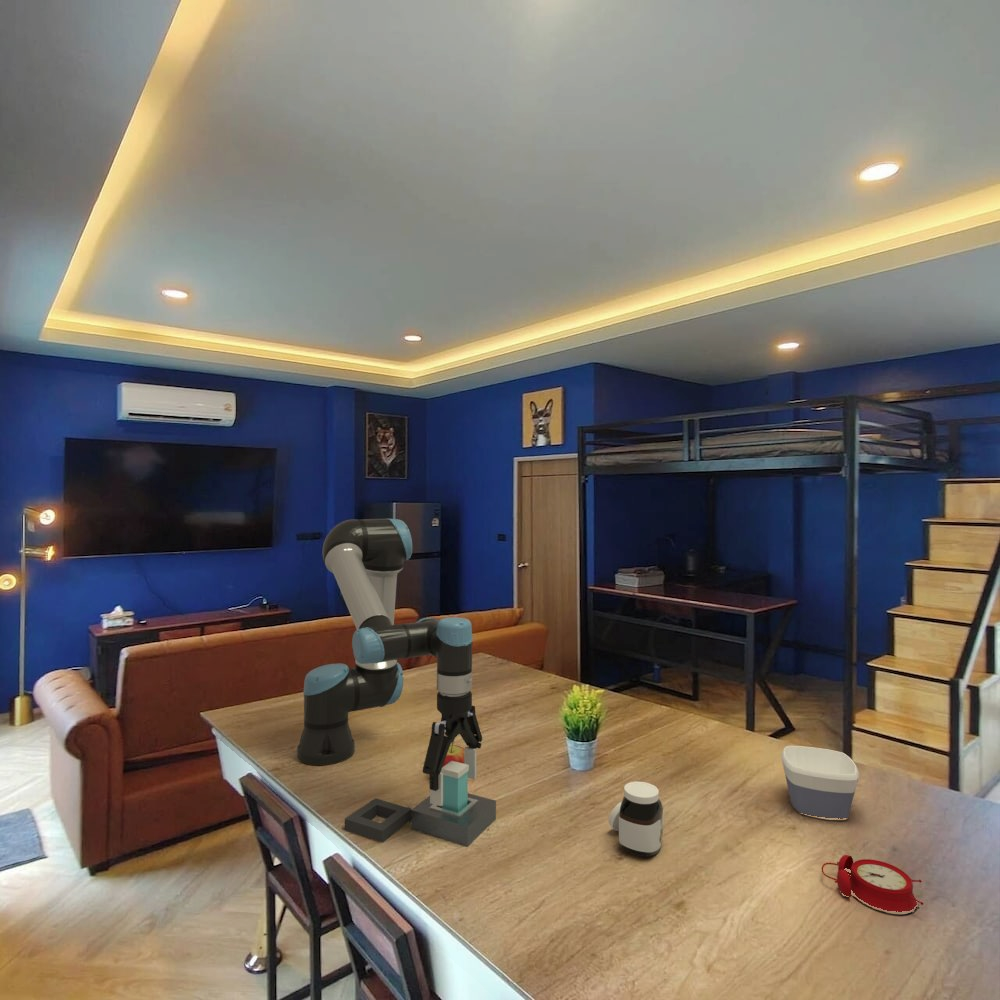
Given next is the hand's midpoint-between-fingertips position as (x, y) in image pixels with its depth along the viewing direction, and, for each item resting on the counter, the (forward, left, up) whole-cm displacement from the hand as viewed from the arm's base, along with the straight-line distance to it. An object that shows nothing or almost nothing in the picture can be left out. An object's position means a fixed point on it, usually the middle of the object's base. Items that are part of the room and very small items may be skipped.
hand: (454, 790), depth 131 cm
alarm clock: (+78, +16, -8) cm, 80 cm away
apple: (-12, +17, -7) cm, 22 cm away
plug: (0, 0, -7) cm, 7 cm away
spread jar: (+36, +12, -8) cm, 39 cm away
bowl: (+69, +45, -8) cm, 83 cm away
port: (0, 0, -7) cm, 7 cm away
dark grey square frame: (-14, -8, -7) cm, 18 cm away
